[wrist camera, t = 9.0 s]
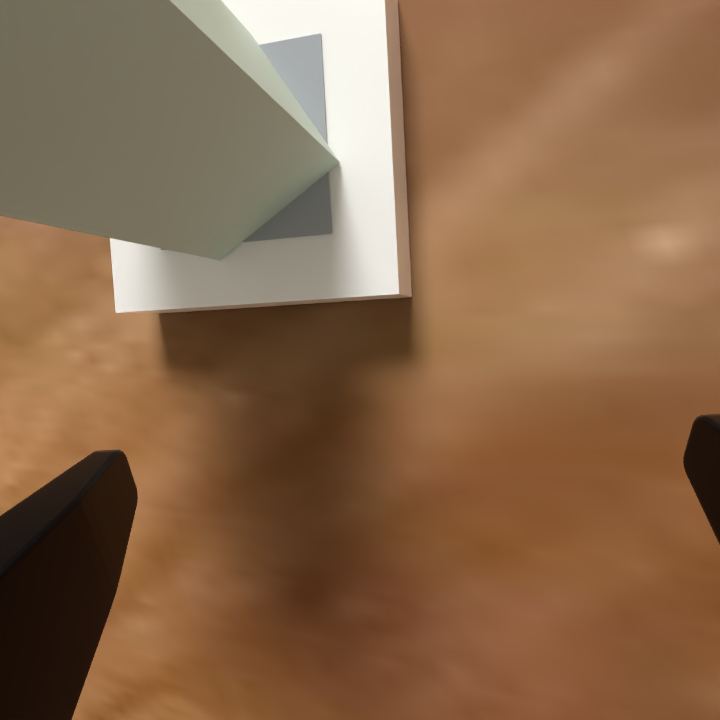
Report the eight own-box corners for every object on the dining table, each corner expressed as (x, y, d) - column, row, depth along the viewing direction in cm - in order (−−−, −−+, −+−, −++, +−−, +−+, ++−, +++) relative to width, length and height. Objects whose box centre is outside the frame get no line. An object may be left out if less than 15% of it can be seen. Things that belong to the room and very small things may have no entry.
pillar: (339, 162, 17) (-236, -386, 4) (219, 260, 19) (-538, 105, 5) (251, 34, 18) (-549, -866, 4) (139, 138, 19) (-761, -306, 5)
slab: (411, 296, 20) (398, 293, 17) (157, 313, 22) (113, 312, 20) (397, -2, 19) (381, -50, 17) (138, 49, 22) (90, 14, 19)
